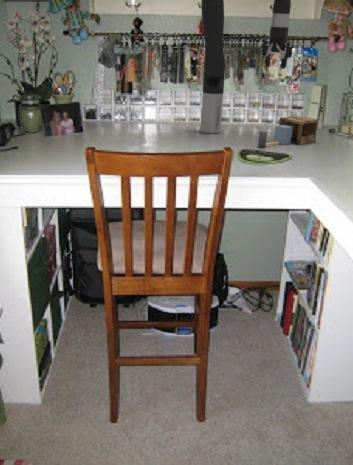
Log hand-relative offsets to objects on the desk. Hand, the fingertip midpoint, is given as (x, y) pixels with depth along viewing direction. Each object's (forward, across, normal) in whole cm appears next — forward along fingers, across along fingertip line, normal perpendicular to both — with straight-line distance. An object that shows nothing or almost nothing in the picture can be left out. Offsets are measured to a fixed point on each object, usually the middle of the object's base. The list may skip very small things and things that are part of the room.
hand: (275, 67), depth 201 cm
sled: (+29, -15, +14) cm, 35 cm away
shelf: (+29, -15, -2) cm, 32 cm away
